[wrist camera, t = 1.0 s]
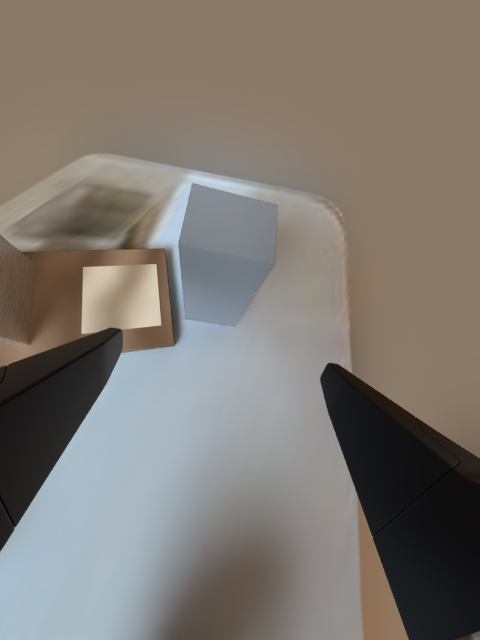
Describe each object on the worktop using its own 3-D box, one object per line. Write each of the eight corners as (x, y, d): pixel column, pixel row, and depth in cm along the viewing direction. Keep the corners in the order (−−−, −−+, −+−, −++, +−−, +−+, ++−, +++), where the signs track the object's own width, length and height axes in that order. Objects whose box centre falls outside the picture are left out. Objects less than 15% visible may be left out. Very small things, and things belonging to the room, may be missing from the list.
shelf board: (165, 254, 26) (154, 197, 18) (174, 345, 23) (166, 322, 15) (4, 260, 22) (-96, 189, 14) (-12, 370, 19) (-150, 355, 11)
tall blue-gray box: (234, 326, 25) (274, 263, 13) (185, 318, 24) (178, 243, 12) (238, 291, 26) (277, 204, 14) (192, 282, 25) (192, 183, 13)
